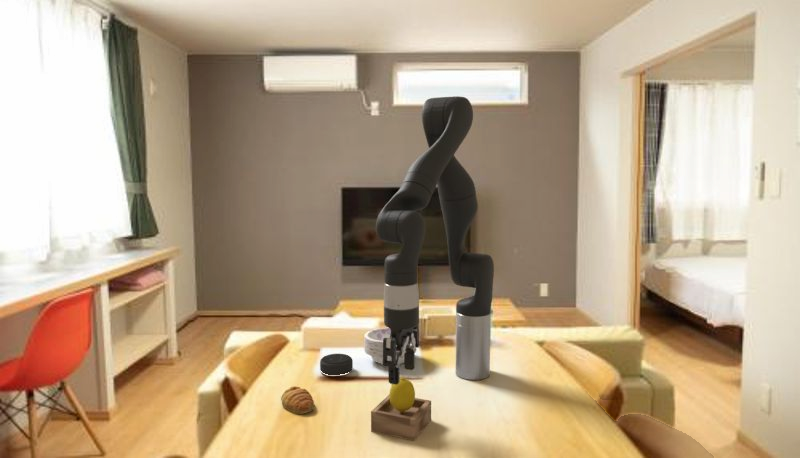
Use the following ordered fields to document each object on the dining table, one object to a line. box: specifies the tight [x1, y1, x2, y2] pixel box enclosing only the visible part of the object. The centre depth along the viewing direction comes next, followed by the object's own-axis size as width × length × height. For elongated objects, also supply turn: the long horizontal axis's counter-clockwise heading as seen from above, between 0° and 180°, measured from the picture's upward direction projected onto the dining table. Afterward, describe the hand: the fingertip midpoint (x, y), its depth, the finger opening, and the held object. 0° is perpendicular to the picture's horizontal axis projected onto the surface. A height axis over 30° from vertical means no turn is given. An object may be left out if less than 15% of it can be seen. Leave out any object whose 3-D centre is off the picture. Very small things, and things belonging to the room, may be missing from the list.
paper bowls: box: [363, 327, 415, 365], centre depth 160 cm, size 15×15×8 cm
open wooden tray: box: [370, 393, 432, 441], centre depth 120 cm, size 10×10×4 cm
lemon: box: [389, 376, 416, 413], centre depth 120 cm, size 6×6×8 cm
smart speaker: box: [319, 353, 354, 375], centre depth 152 cm, size 9×9×4 cm
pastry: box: [280, 385, 315, 415], centre depth 130 cm, size 9×7×4 cm
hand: (402, 376), depth 120 cm, fingers open, 8 cm apart
